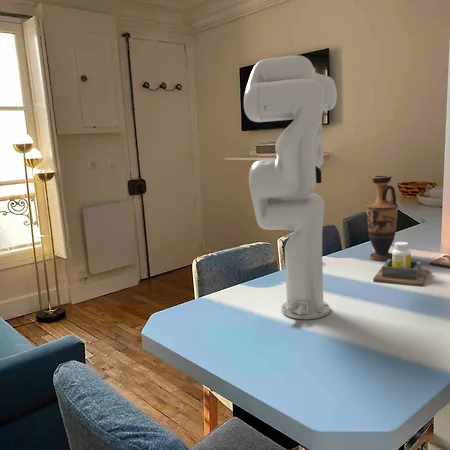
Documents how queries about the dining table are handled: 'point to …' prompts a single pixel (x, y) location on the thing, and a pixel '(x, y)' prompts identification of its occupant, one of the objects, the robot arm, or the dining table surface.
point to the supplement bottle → (401, 255)
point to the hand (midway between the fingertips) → (311, 184)
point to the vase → (382, 219)
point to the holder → (402, 274)
